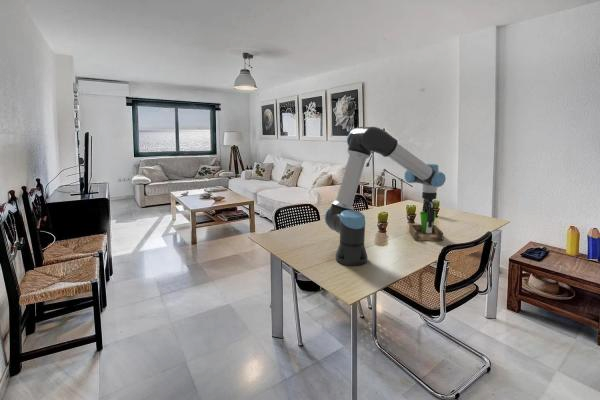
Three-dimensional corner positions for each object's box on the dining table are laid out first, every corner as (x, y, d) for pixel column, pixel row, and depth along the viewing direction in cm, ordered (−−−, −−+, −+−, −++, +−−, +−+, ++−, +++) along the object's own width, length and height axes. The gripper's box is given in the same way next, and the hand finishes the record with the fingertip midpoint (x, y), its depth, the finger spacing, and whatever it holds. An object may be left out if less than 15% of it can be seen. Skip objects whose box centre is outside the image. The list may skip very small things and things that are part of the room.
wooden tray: (414, 240, 184) (415, 232, 183) (408, 232, 199) (409, 224, 198) (442, 241, 182) (443, 232, 181) (434, 232, 198) (435, 224, 197)
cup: (436, 230, 189) (438, 212, 187) (433, 234, 182) (434, 215, 179) (420, 228, 194) (421, 210, 191) (416, 232, 186) (418, 213, 184)
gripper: (442, 195, 172) (439, 236, 176) (431, 188, 193) (428, 224, 198) (427, 195, 173) (424, 235, 177) (418, 188, 194) (415, 224, 198)
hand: (426, 230), depth 187 cm, fingers closed on cup, 9 cm apart
